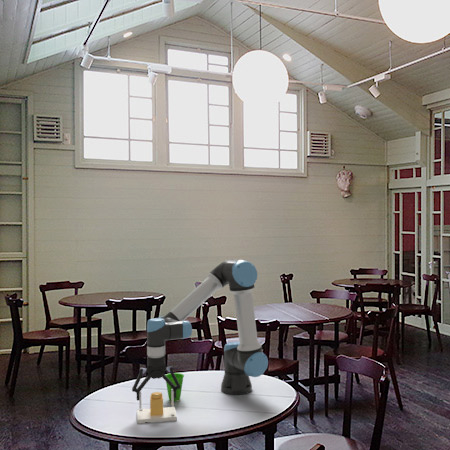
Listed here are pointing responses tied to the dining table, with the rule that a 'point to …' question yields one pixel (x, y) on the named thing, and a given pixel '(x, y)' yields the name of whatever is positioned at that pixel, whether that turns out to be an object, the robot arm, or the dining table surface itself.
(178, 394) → the cup
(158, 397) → the ball on cube
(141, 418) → the lid
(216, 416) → the dining table surface
